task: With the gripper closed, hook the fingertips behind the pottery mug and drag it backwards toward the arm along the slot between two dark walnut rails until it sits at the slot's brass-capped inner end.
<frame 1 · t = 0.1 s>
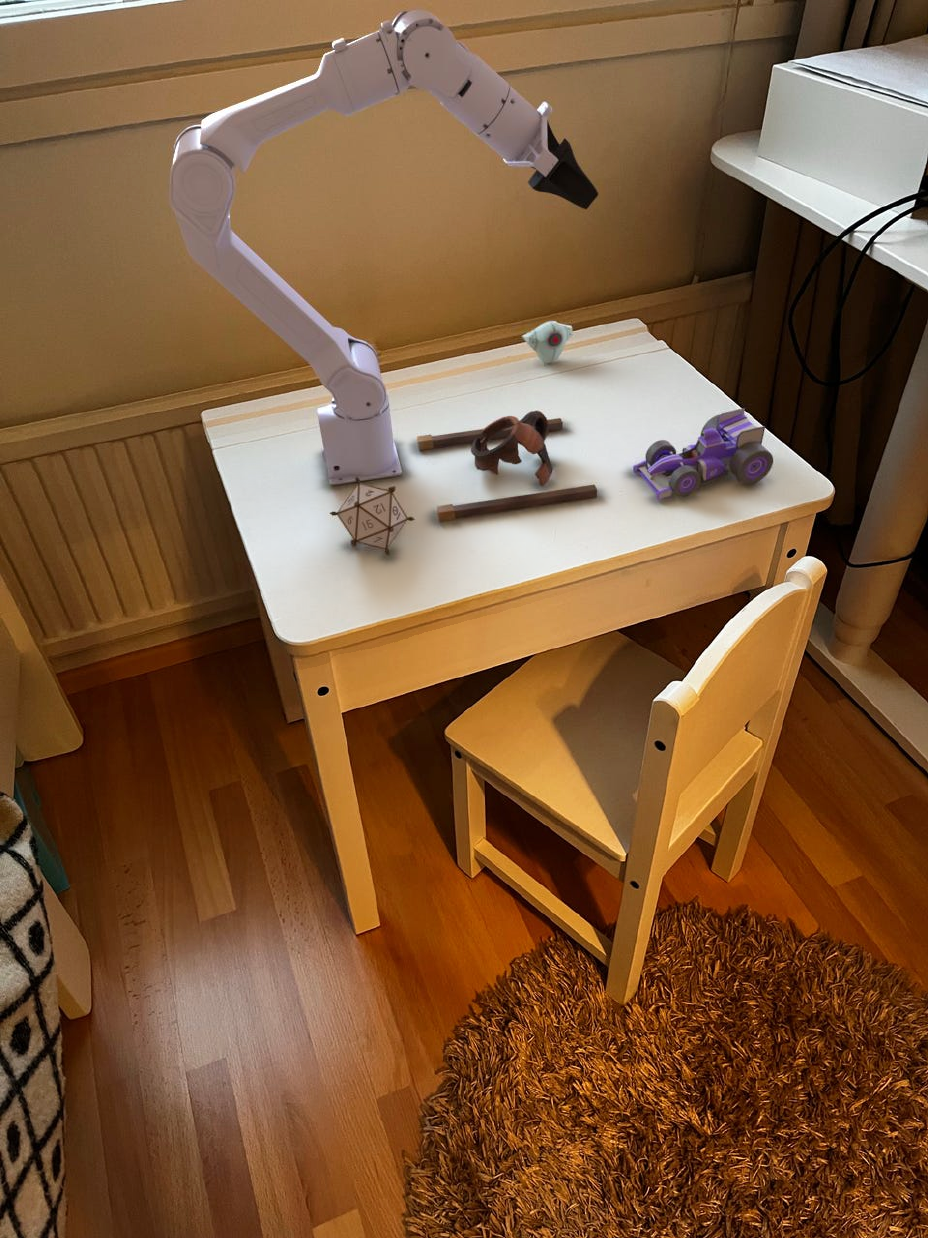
hand: (581, 189, 102), 32 cm above the table, tool tilted 50°, fingers open, 7 cm apart
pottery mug: (518, 469, 119), on the table
walnut slot: (503, 470, 119), on the table
robot head: (549, 364, 139), on the table
toy race car: (697, 474, 117), on the table
game die: (376, 544, 109), on the table
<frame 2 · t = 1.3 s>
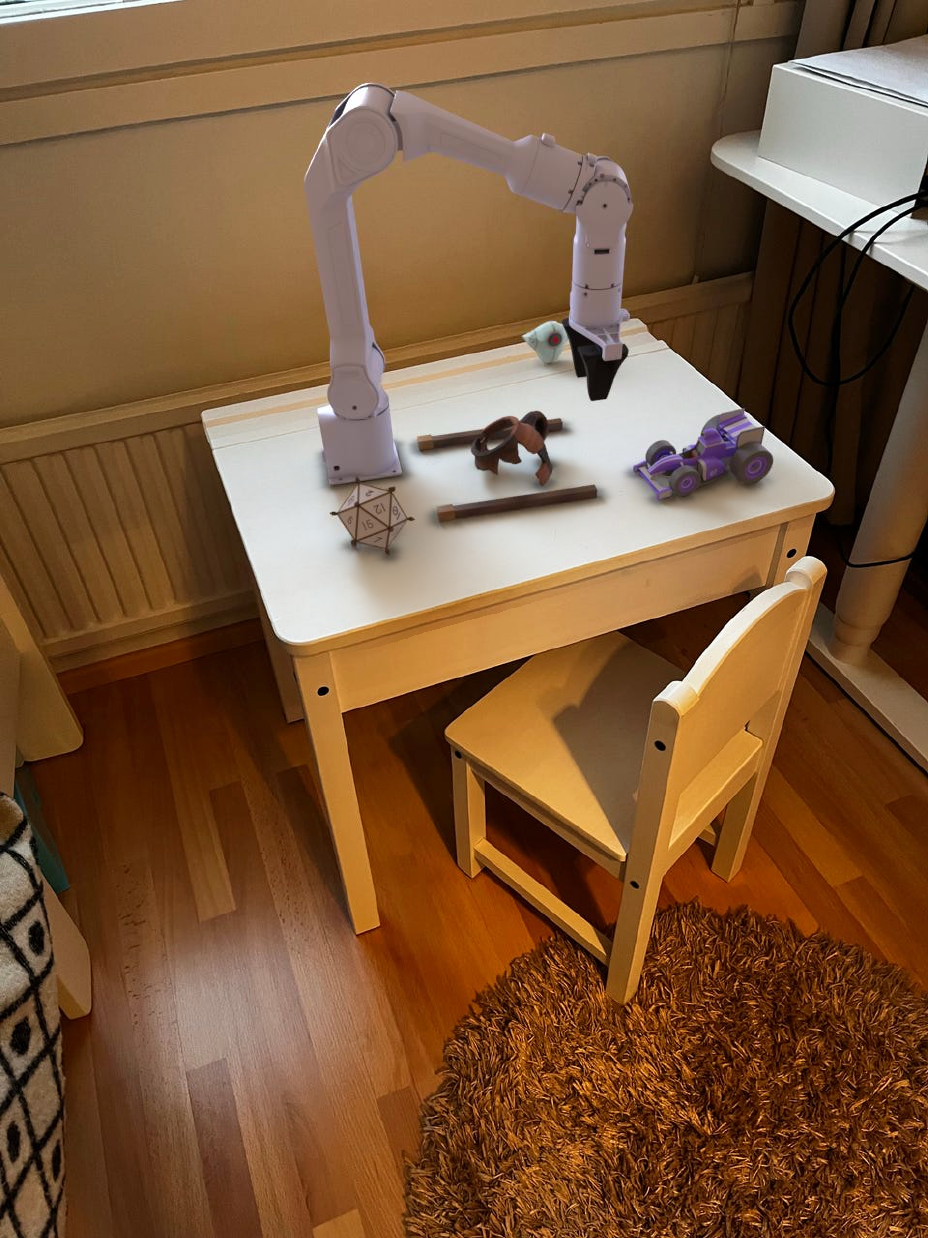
hand: (591, 386, 113), 10 cm above the table, tool pointing down, fingers open, 5 cm apart
nothing on the table moved.
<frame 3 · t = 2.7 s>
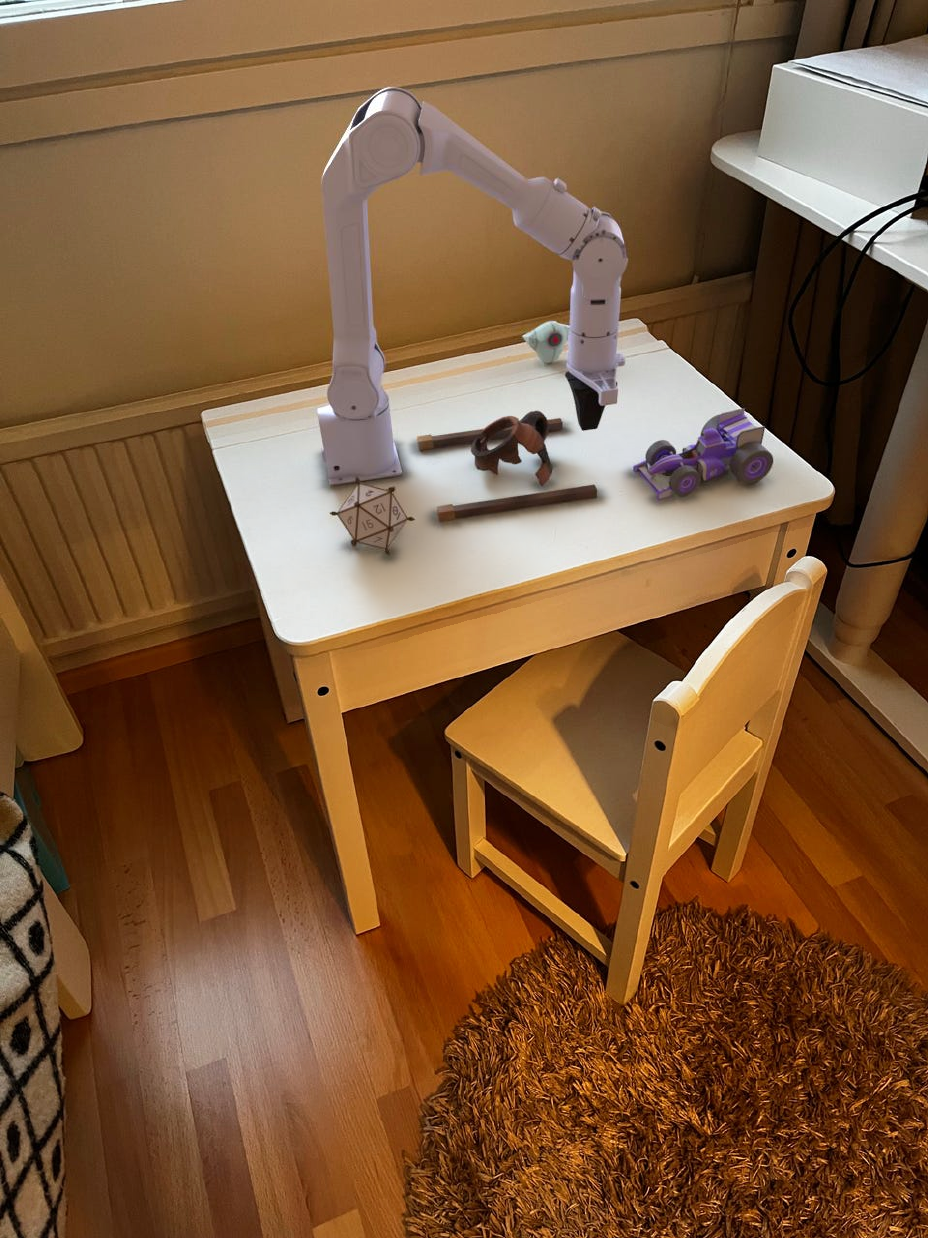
hand: (588, 427, 117), 5 cm above the table, tool pointing down, fingers closed
nothing on the table moved.
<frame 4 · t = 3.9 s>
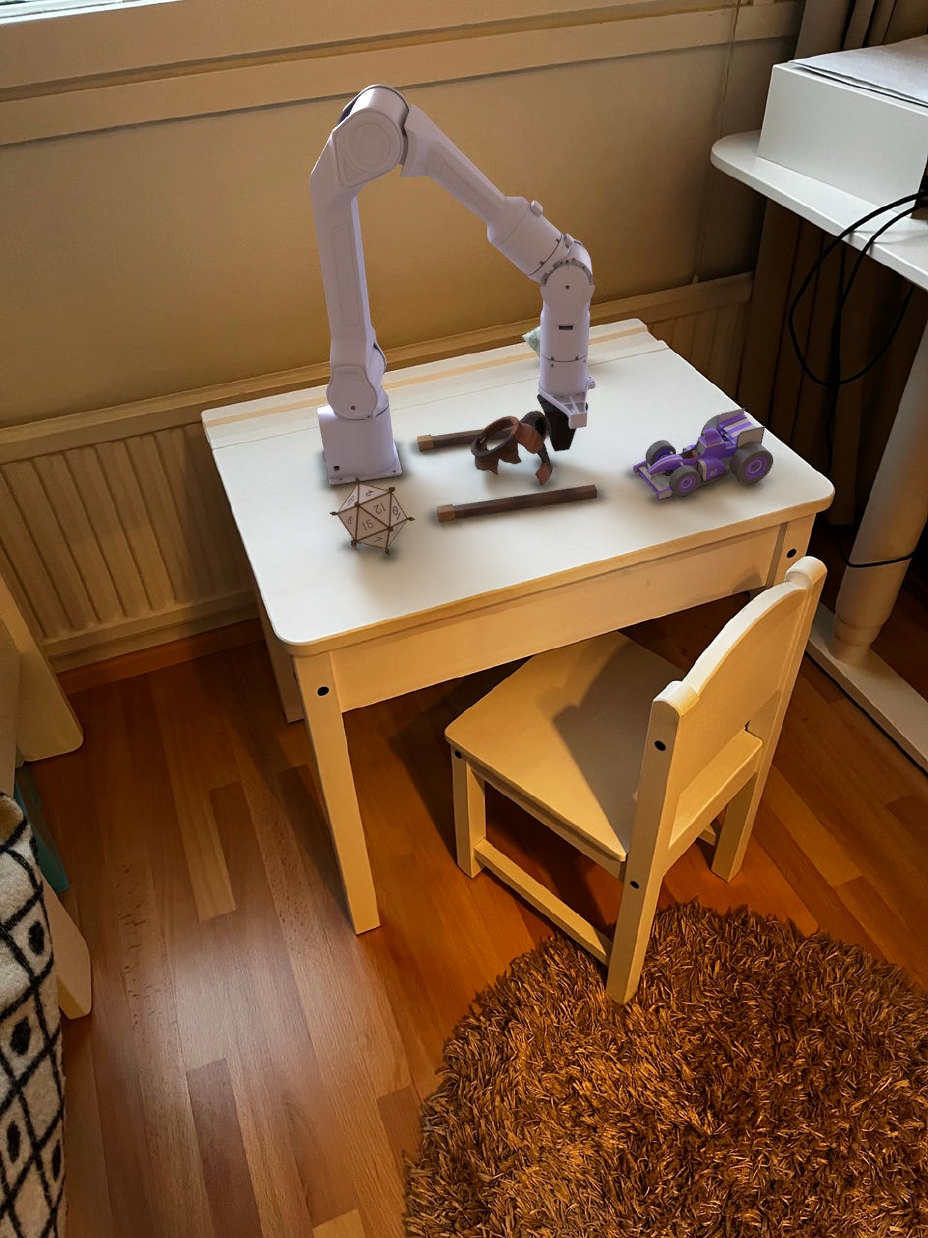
hand: (560, 447, 118), 2 cm above the table, tool pointing down, fingers closed
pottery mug: (518, 469, 119), on the table, touching gripper
everything else where it was.
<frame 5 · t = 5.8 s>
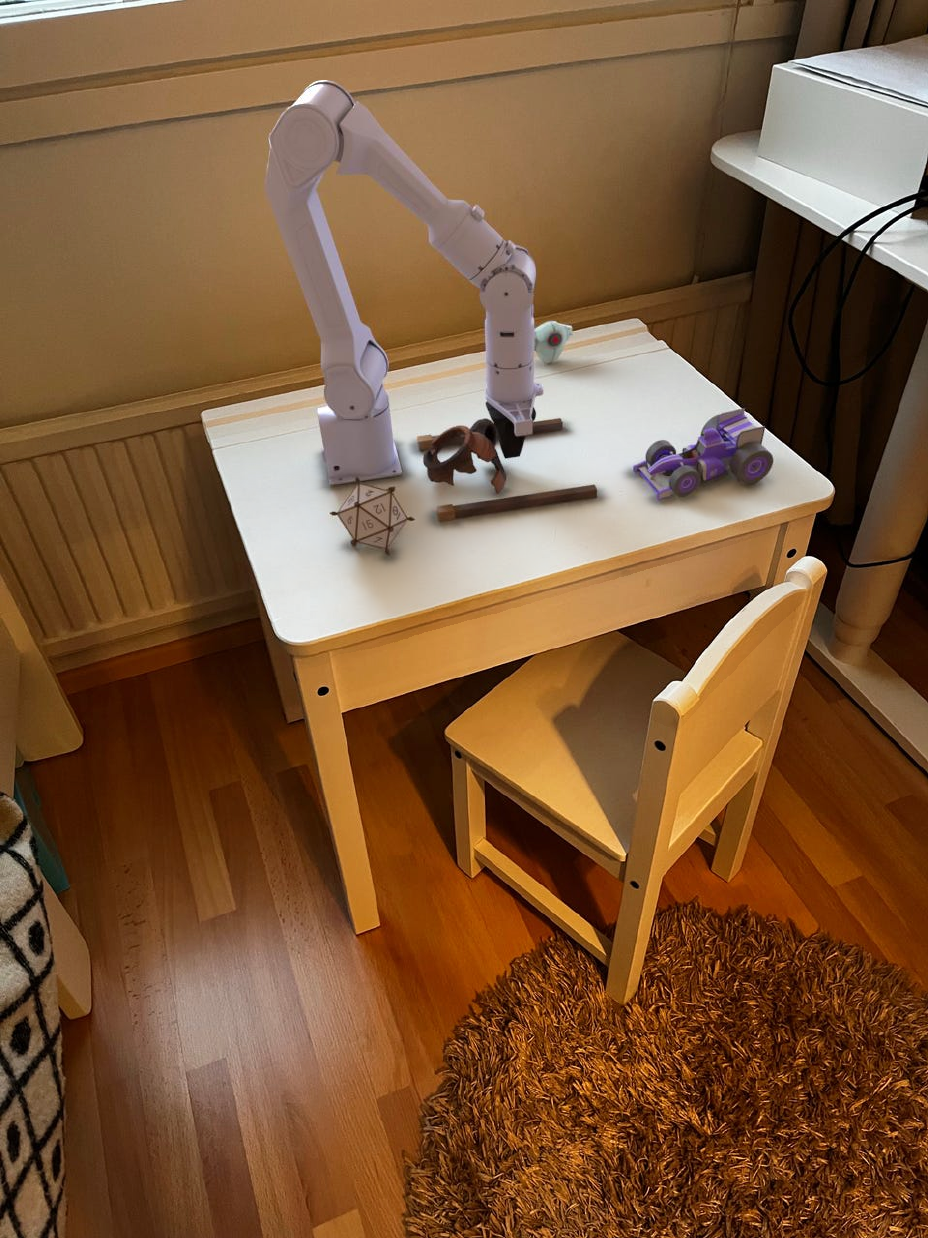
hand: (511, 454, 117), 2 cm above the table, tool pointing down, fingers closed
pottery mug: (471, 478, 118), on the table, touching gripper
everything else where it was.
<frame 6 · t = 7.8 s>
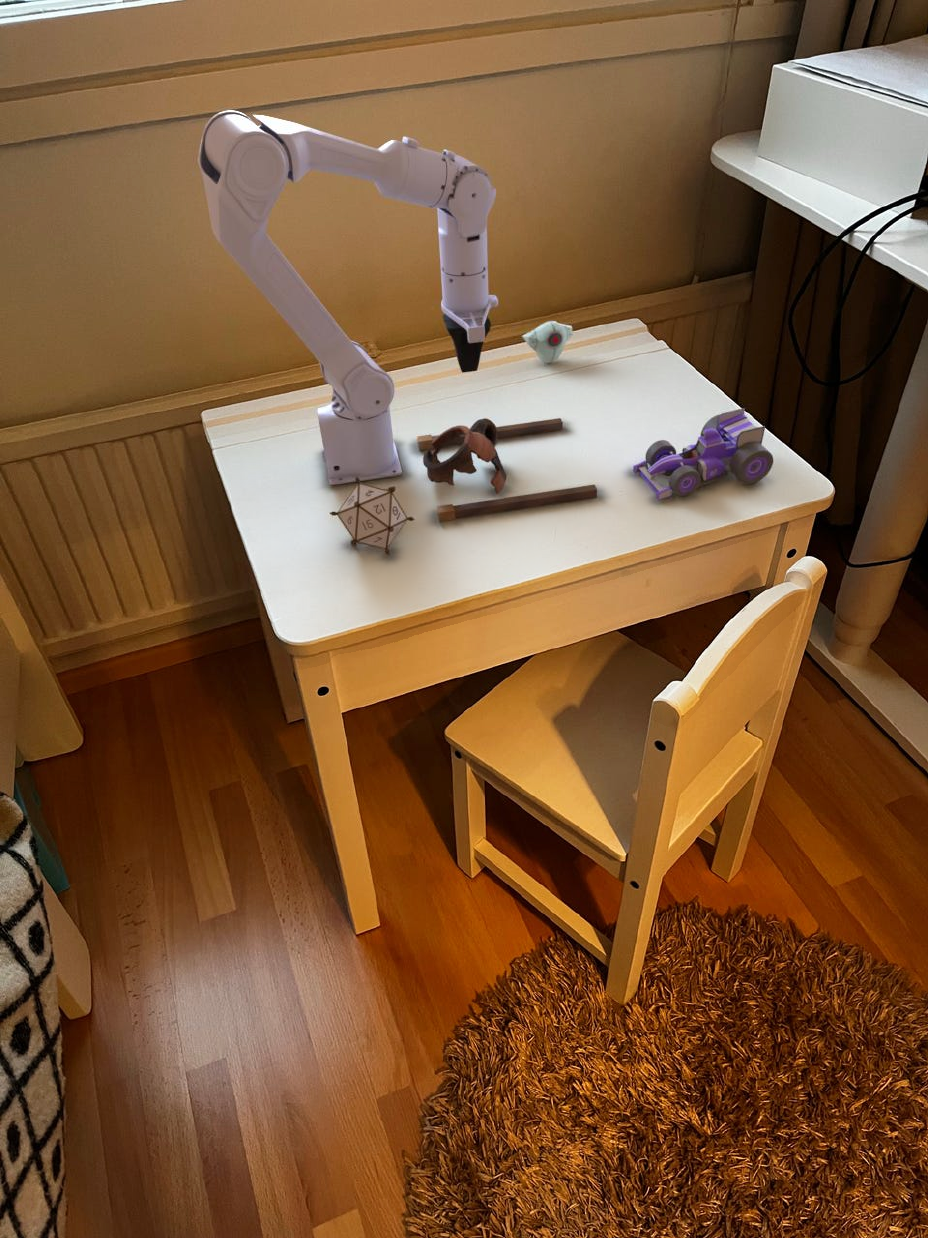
hand: (468, 369, 120), 9 cm above the table, tool pointing down, fingers closed
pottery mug: (471, 478, 118), on the table
everything else where it was.
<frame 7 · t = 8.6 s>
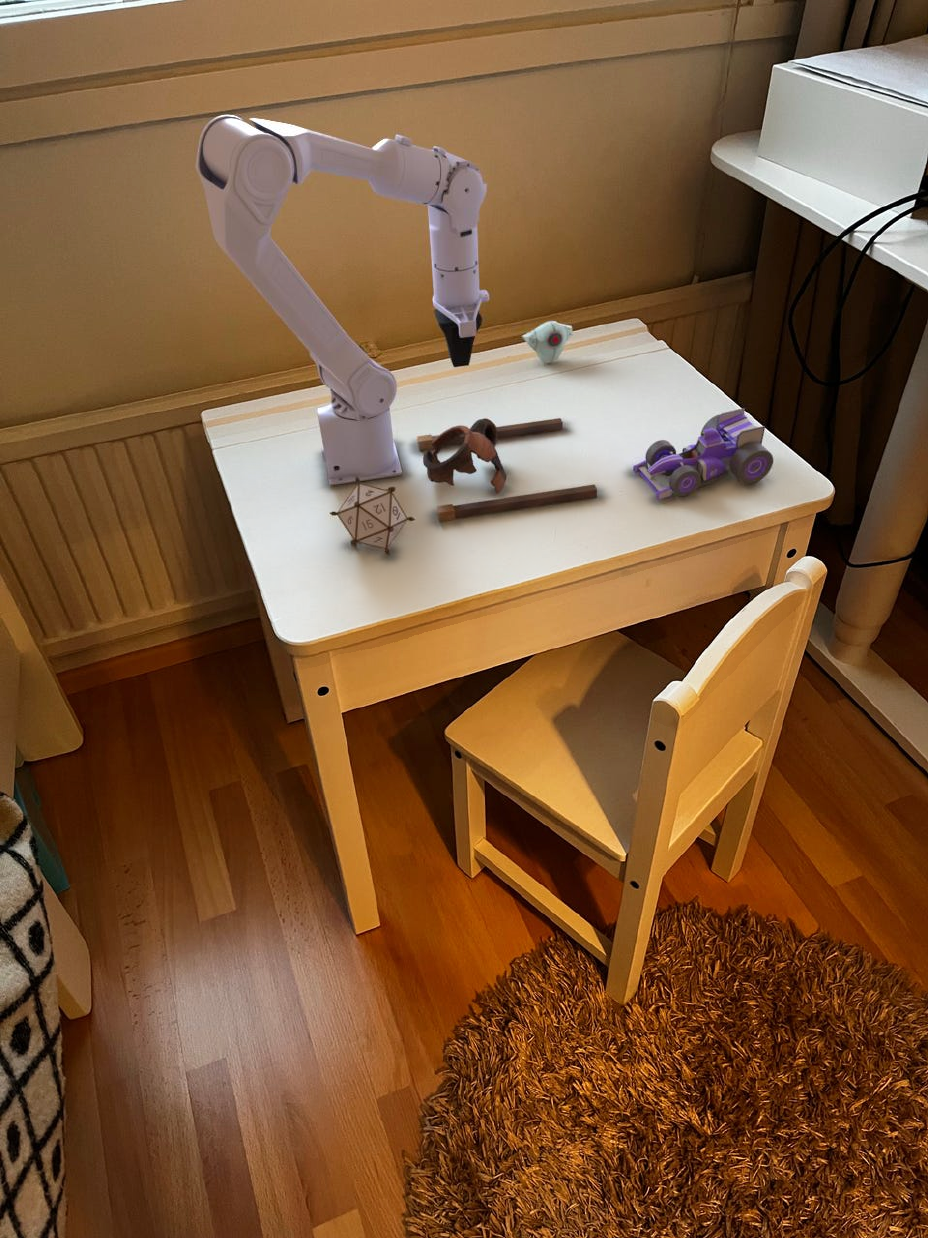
hand: (460, 363, 121), 9 cm above the table, tool pointing down, fingers closed
nothing on the table moved.
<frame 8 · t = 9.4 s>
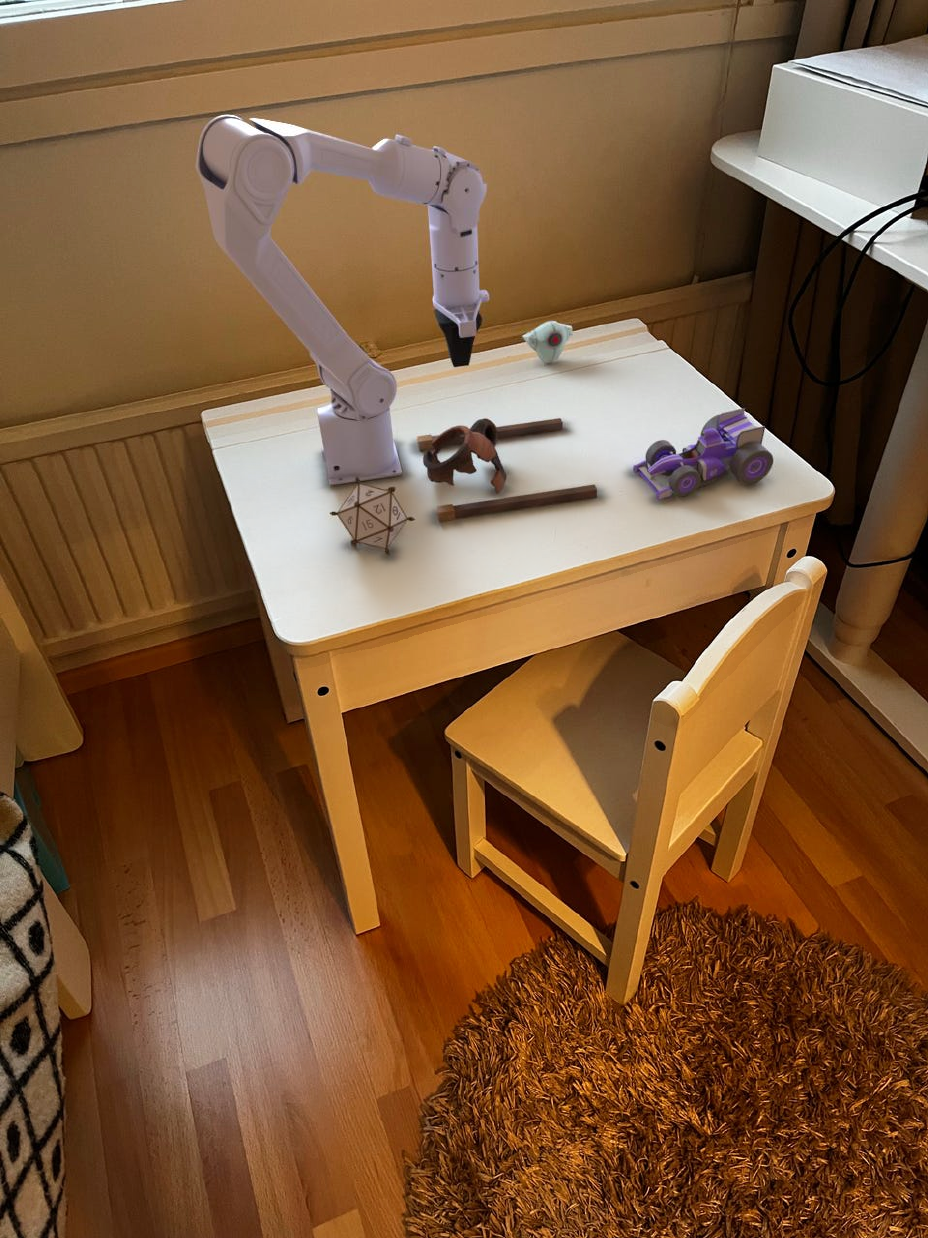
hand: (460, 363, 121), 9 cm above the table, tool pointing down, fingers closed
nothing on the table moved.
at the end: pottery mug inside the target area (1.0 cm from its centre), on the table; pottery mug tilted 0°; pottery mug moved 6.4 cm from its start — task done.
